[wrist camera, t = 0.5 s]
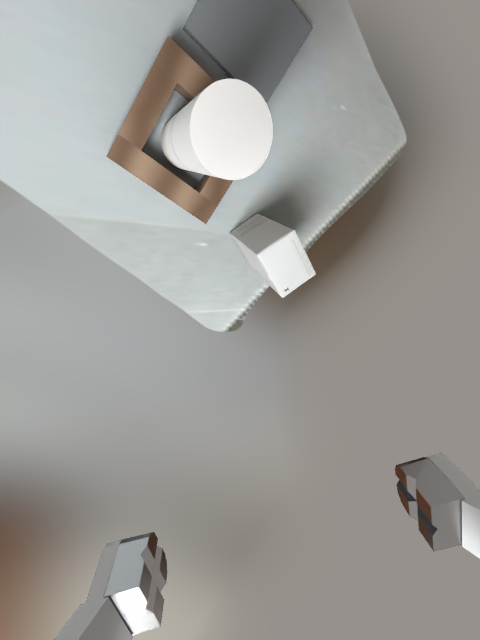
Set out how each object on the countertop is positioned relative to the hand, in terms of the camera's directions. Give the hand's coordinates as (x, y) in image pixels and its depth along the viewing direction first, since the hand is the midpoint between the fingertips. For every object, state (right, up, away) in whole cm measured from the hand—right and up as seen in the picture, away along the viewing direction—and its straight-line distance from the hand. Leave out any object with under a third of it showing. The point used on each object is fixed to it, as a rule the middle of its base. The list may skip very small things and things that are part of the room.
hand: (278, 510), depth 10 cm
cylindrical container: (-10, +33, +37) cm, 50 cm away
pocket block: (-10, +33, +36) cm, 50 cm away
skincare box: (+1, +21, +47) cm, 51 cm away
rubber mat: (0, +46, +33) cm, 57 cm away
